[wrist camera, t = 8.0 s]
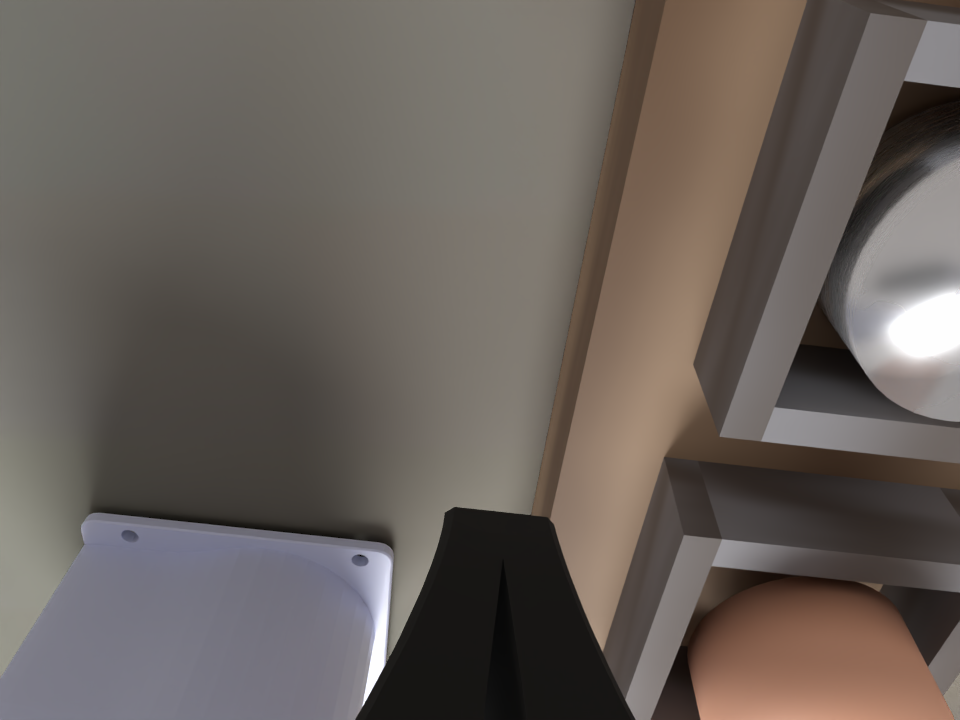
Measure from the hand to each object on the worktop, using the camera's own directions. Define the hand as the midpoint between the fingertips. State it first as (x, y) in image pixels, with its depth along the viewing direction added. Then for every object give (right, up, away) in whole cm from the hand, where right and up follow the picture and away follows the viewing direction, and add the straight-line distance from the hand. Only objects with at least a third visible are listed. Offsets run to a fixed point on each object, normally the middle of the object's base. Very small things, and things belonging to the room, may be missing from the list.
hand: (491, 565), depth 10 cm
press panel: (+8, +3, +10) cm, 13 cm away
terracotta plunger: (+7, -4, +8) cm, 12 cm away
